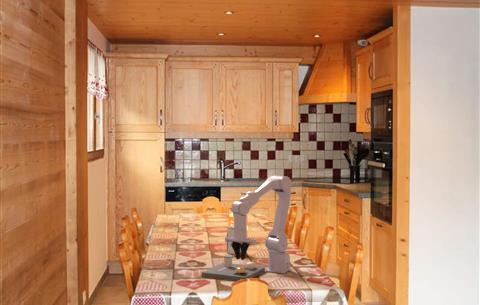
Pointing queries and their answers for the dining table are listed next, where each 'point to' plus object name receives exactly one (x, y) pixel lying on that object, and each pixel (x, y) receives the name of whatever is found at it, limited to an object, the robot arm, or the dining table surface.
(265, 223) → the dining table surface
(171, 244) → the dining table surface
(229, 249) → the syrup box
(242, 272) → the brass button
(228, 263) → the pale green slider knob
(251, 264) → the white button
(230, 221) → the orange juice
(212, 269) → the control panel
